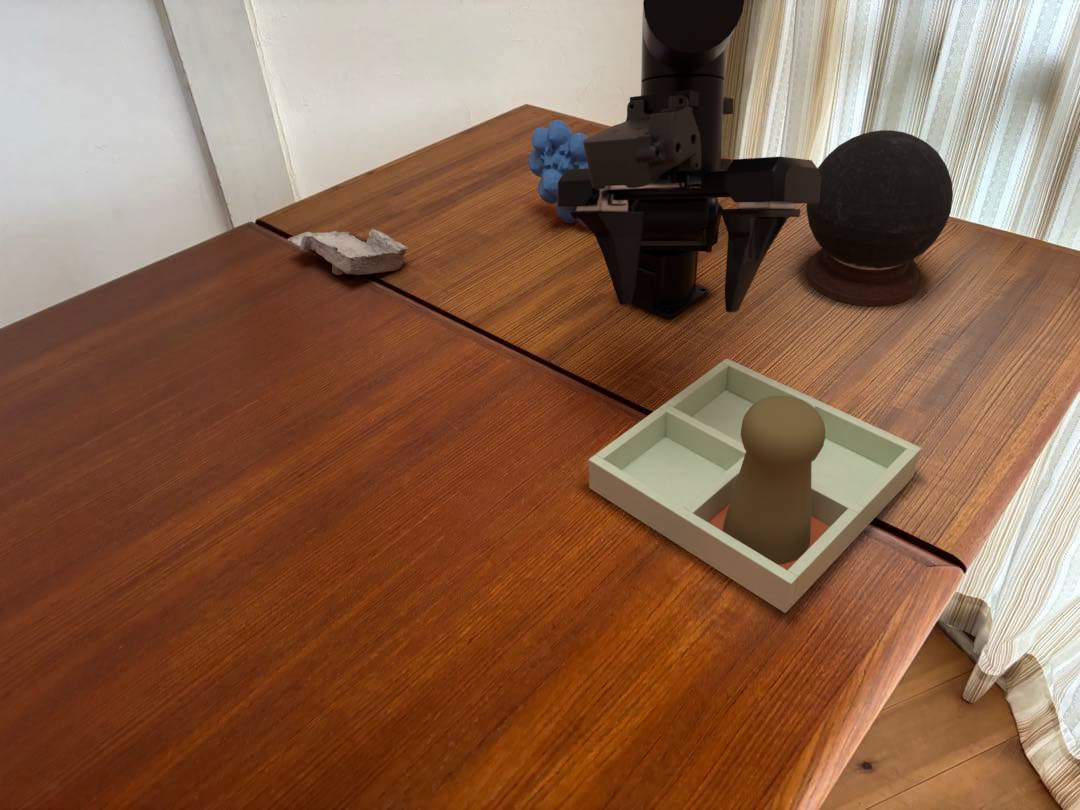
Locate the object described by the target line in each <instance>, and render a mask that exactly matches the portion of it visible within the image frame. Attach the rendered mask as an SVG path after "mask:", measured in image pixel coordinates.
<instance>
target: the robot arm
mask: <svg viewBox="0 0 1080 810" xmlns="http://www.w3.org/2000/svg"><path fill="white" fill-rule="evenodd" d="M642 3H643V4H642V18H641V19H642V23H641V36H642V37H641V75H640V79H641V80H640V82H641V84H640V95H636V96H629V102H628V103H627V104H626V105H627V106H626V119H625V121H623V122H621V123H617V124H614V125H612V126H609V127H608V128H606V129H604V130H602V131H600V132H597V133H595V134H593V135H591V136H588V138H587V139H585V140H584V141H583V145H584V150H585V155H586V159H587V164H588V168H586V169H570V170H566V171H565V172H564V174H563V175H562V177H561V178H560V180H559V181H558V207H576V212H570V214H571V216H572V218H573V219H580V220H581V221H582V222H583V223H584V224H585V225H586V226H587V227H586V228H587V229H589V231H590V232H592V233H593V235H594V237H595V239H596V241H597V243H598V247H599V248H600V250H601V254H602V256H603V258H604V262H605V264H606V267H607V270H608V273H609V276H610V278H611V282H612V286H613V289H614V291H615V295H616V297H617V300H618V302H619V305H623V306H627V305H631V304H634V305H636V306H638V307H641V308H643V309H645V310H647V311H650V312H652V313H653V314H657V315H658V316H661V317H663V318H665V319H672V318H675V317H676V316H677V315H679V314H680V313H683V312H684V311H685V310H687V309H688V308H689V307H691V306H693V305H694V304H696V303H697V302H698V301H700V300H702V299H703V298H705V297H706V296H708V294H709V289H708V288H707V287H705V286H702V285H700V284H697V277H698V276H697V273H698V260H699V252H705V253H712V252H713V251H712V250H713V246H715V245H717V244H718V243H719V242H718V241H719V230H720V224H721V219H722V221H723V223H724V225H725V229H726V232H727V250H726V264H725V279H724V306H725V312H726V313H728V314H729V313H730V314H732V313H737V312H738V311H739V310H740V308H741V305H742V304H743V302H744V299H745V298H746V295H747V293H748V291H749V289H750V287H751V285H752V283H753V281H754V279H755V277H756V275H757V273H758V271H759V268H760V267H761V264H762V263H763V260H764V259H765V256H766V255H767V253H768V251H769V250H770V248H771V246H772V245H773V243H774V242H775V240H776V239H777V237H778V235H779V234H780V232H781V230H782V229H783V227H784V225H785V224H786V223H787V221H788V219H790V218H799V217H800V216H801V209H800V208H796V204H807V203H819V200H820V184H821V177H820V174H819V171H818V167H817V166H816V164H815V163H814V162H813V160H812V159H804V158H798V157H789V156H768V157H767V156H766V157H765V156H764V157H752V158H751V157H749V158H734V159H731V158H723V135H724V134H723V133H724V132H723V129H724V115H733V114H734V102H735V101H734V98H732V97H727V96H725V82H726V81H725V79H726V77H725V75H726V51H727V49H726V48H727V45H728V44H729V41H730V40H731V38H732V36H733V34H734V32H735V30H736V28H737V26H738V25H739V24H738V23H739V22H740V19H741V17H742V14H743V12H744V11H743V10H744V6H745V0H643V2H642ZM720 198H730V199H731V200H732V201H733V202H734V203H737V208H724V207H723V205H722V204H721V203H720V202H719V199H720Z"/></svg>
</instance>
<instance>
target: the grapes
mask: <svg viewBox="0 0 1080 810" xmlns="http://www.w3.org/2000/svg"><path fill="white" fill-rule="evenodd" d="M587 138H589V136H587V135H586V134H585V133H583V132H580V131H578V132H574V133H572V131H571V129H570V127H569V125H568V124H567V123H565V122H564V121H563V120H560V119H555V120H552V121H551V122H550V123H549V125H548V127H547V128H546V127H542V126H540V127H537V128H535V130H534V131H533V132H532V135H531V144H532V147H533V149H534V150H532V151H531V152H530V153H529V155H528V159H527V160H528V161H527V164H528V168H529V170H530V171H531V173H532V174H533V175H535V176H536V177H538V178H540V180H539V181H538V185H537V192H538V195H539V197H540V199H542V200H543V201H544V202H545V203H548V204H551V205H552V204H555V211H556V214H557V216H558V218H559V219H560V220H561V221H562V222H563V223H567V224H573V223H575V222H576V221H577V222H578V224H580V225H581V226H583V227H585V228H588V227H587V226H586V225H585V224H584V223H583V222H582V221H581V220H580V219H573V218H572V216H571V214H570V212H576V207H558V181H559V180H560V178H561V177H562V175H563V174H564V172H565V171H566V170H570V169H586V168H588V164H587V159H586V155H585V150H584V145H583V141H584V140H585V139H587Z"/></svg>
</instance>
